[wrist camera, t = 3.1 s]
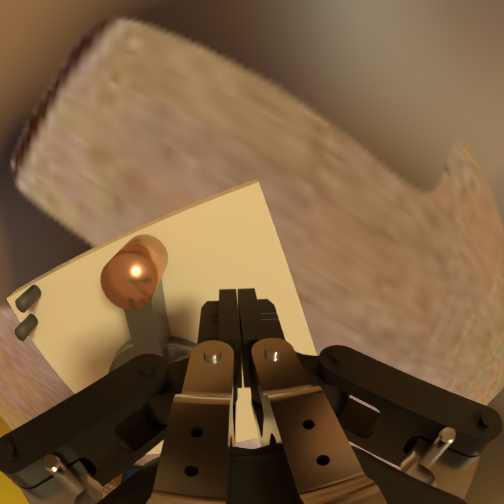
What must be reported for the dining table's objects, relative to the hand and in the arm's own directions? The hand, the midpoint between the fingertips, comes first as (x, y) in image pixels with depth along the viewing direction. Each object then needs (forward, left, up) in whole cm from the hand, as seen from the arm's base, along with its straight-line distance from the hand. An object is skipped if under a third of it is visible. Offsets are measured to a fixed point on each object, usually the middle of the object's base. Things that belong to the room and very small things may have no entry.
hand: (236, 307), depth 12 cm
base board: (-8, +9, -8) cm, 15 cm away
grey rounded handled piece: (-5, +8, -6) cm, 11 cm away
